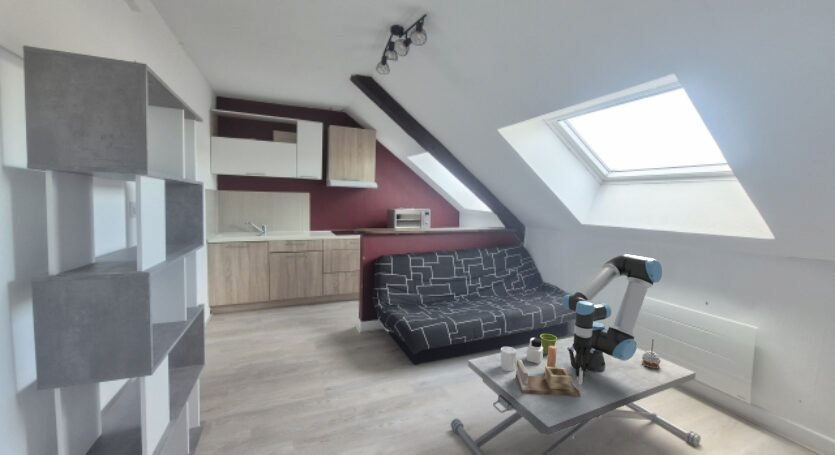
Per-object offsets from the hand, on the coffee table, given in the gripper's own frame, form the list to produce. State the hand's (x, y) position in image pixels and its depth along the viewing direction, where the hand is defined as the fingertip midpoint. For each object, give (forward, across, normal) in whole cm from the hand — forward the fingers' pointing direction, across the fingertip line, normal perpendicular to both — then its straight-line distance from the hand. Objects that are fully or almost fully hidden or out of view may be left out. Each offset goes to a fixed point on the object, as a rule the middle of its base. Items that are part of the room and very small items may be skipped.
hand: (579, 382), depth 161 cm
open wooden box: (+1, +10, 0) cm, 10 cm away
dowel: (+3, +8, -15) cm, 17 cm away
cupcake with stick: (+3, -50, -28) cm, 57 cm away
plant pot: (+3, +2, -39) cm, 39 cm away
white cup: (+3, +30, -16) cm, 34 cm away
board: (+3, +15, 0) cm, 16 cm away
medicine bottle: (+3, +13, -27) cm, 30 cm away
